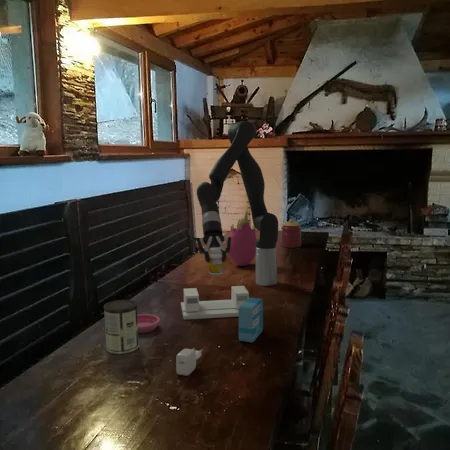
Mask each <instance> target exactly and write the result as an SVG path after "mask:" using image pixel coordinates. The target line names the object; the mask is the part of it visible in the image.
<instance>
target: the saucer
mask: <svg viewBox="0 0 450 450" xmlns="http://www.w3.org/2000/svg"><path fill="white" fill-rule="evenodd" d="M137 319H138V334H146V333H151V332H152V331H155V329H156V328H157V327H158V326H159V324H160V322H161V321H160V320H161V319H160V317H159V316H158V315H154V314H150V313H149V314H148V313H144V314H141V313H140V314H137Z"/></svg>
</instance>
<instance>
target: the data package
mask: <svg viewBox="0 0 450 450" xmlns="http://www.w3.org/2000/svg"><path fill="white" fill-rule="evenodd" d="M263 329H264V300H263V298H259V297H250V296H249V299H247V300H246V301H245V302H244V303H243V304H241V305H240V307H239V316H238V339H239V341H240V342H246V343H251V344H252V343H253V342H255V341H256V340H257V339H258V337H259V336H260V335H261V334H262V332H263Z"/></svg>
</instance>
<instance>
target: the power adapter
mask: <svg viewBox="0 0 450 450" xmlns="http://www.w3.org/2000/svg"><path fill="white" fill-rule="evenodd" d="M203 351H204V349H203V348H201V349H199V350H196V347H193V348H183V349H182V350H181V351H179V352H178V353H177V354H176V357H175V367H176V369H175V370H176V371H175V372H176V374H177V375H180V376H187V377H188V376H190V375H191V374H192V373H193V371H195V370H196V368H197V360H198V359H200V358H201V357H202V355H203V353H202V352H203Z"/></svg>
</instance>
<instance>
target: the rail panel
mask: <svg viewBox="0 0 450 450" xmlns="http://www.w3.org/2000/svg"><path fill="white" fill-rule="evenodd" d="M230 293H231V297H230V298H231V299H219V300H218V299H217V300H216V299H215V300H200V295H199V292H198V289H197V287H191V288H183V301H181V302H180V307H181V308H180V310H181V314H182V317H183V318H182V319H183V320H185V321H186V320H200V319H201V320H202V319H215V318H219V319H220V318H234V317H239V307H240V305H241V304H243V303H244V302H245V301H246V300H247V299H249V298H250V293H249V290H248V289H247V288H246V287H245V285H235V286H233V285H232V286H231V292H230Z"/></svg>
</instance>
